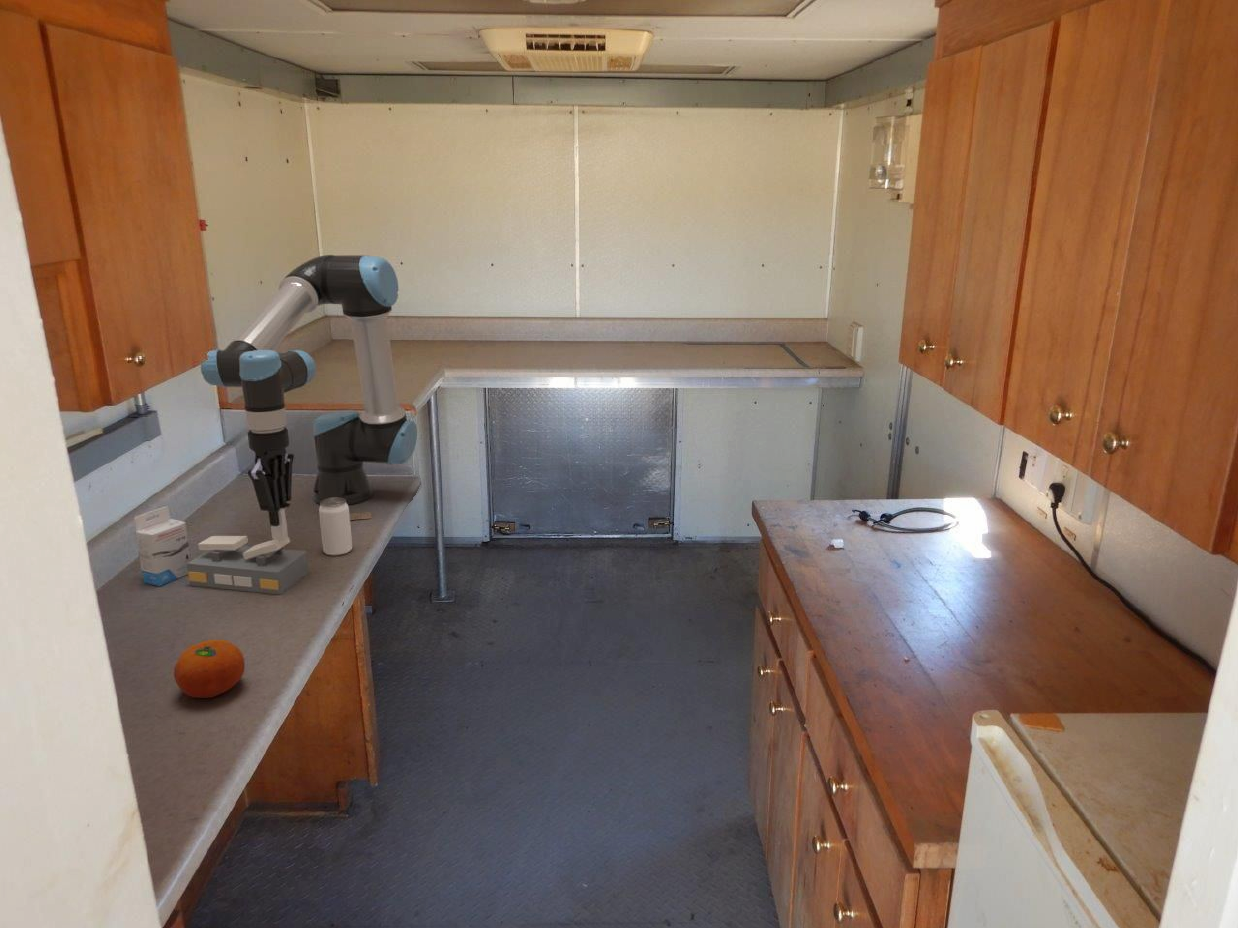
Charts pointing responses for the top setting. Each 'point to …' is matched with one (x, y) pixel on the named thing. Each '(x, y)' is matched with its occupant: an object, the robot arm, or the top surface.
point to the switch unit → (248, 570)
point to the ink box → (162, 547)
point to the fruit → (209, 668)
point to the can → (335, 526)
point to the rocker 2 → (265, 548)
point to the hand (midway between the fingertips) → (280, 538)
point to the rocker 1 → (223, 543)
